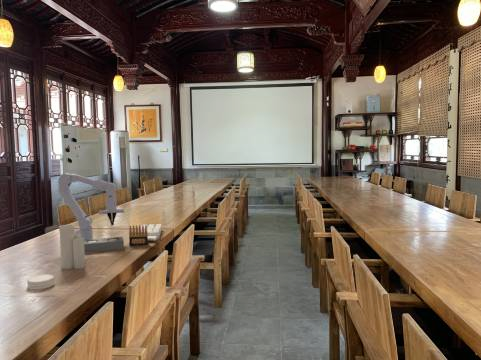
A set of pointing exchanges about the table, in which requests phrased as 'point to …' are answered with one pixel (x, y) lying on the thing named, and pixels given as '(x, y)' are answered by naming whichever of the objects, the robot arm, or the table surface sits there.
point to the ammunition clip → (139, 239)
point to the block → (103, 244)
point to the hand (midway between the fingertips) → (112, 225)
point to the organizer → (152, 231)
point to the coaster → (40, 282)
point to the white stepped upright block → (71, 248)
